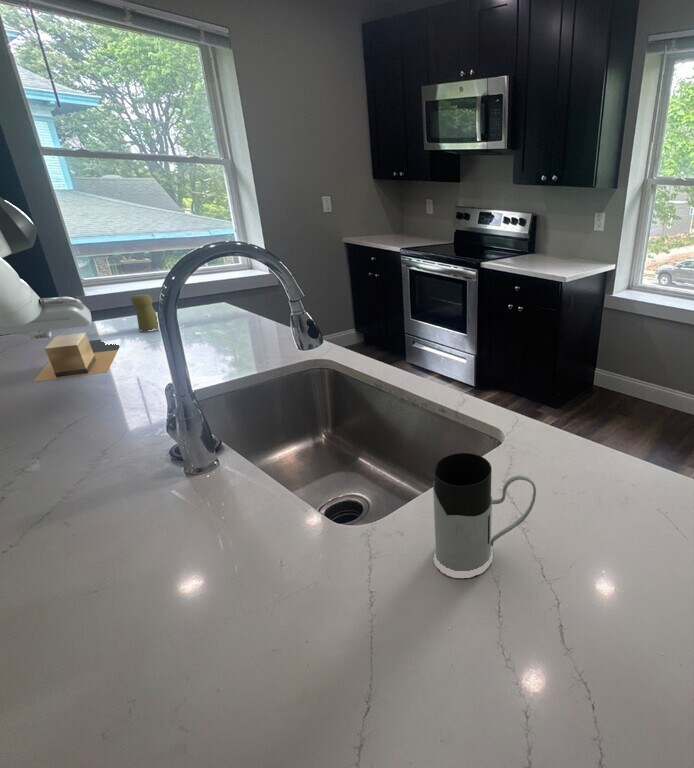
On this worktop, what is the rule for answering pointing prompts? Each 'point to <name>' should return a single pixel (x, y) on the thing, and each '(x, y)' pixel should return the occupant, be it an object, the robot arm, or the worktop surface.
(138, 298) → the pepper shaker
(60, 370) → the eraser block
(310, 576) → the worktop surface
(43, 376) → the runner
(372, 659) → the worktop surface
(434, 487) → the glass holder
